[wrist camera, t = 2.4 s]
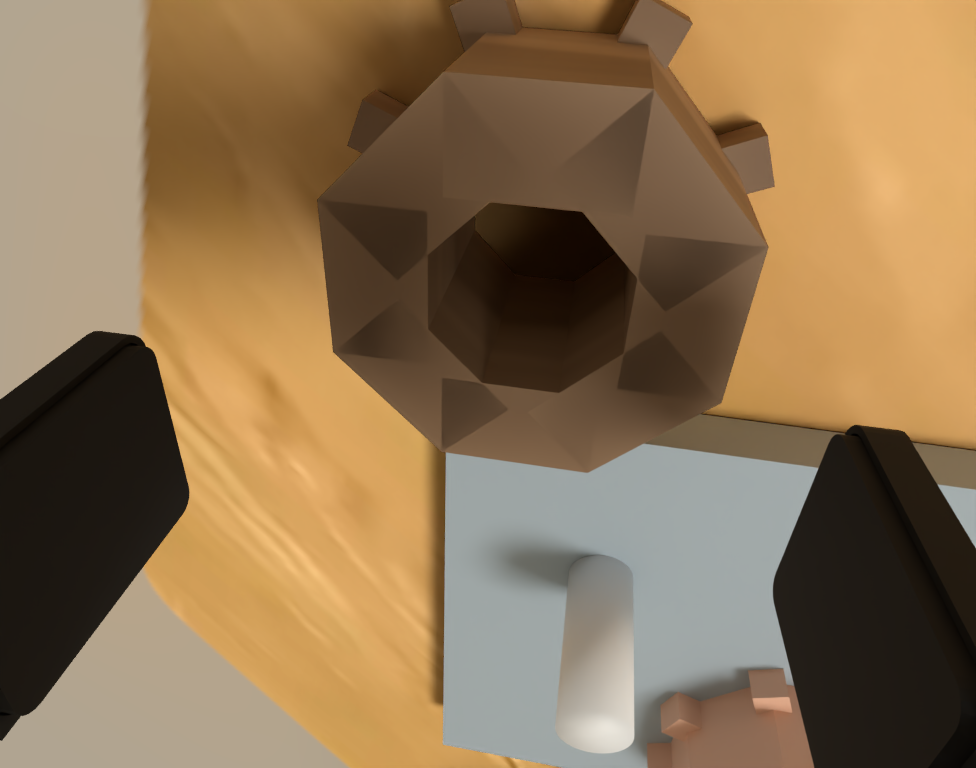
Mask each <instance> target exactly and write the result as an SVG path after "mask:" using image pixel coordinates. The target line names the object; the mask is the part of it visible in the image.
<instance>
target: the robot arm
mask: <svg viewBox="0 0 976 768" xmlns="http://www.w3.org/2000/svg"><path fill="white" fill-rule="evenodd" d="M188 500H189V486H188V483H187V479H186V475H185V471H184V467H183V463H182V459H181V455H180V451H179V447H178V443H177V439H176V435H175V431H174V427H173V423H172V419H171V415H170V411H169V407H168V403H167V399H166V395H165V391H164V387H163V383H162V379H161V375H160V371H159V367H158V363H157V359H156V356H155V354H154V352H153V351H152V350H151V349H150V348H148V347H146V346H145V343H144V342H143V341H142V340H141V338H139V337H137V336H135V335H126V334H119V333H110V332H103V331H94V332H92V333H90V334H88V335H86V336H85V337H84V338H82V339H81V340H80V341H78V342H77V343H75V344H74V345H73V346H71V347H70V348H69V349H67V350H66V351H65V352H63V353H62V354H61V355H59V356H58V357H57V358H55V359H54V360H53V361H51V362H50V363H49V364H47V365H46V366H45V367H43V368H42V369H41V370H39V371H38V372H37V373H35V374H34V375H33V376H31V377H30V378H29V379H28V380H26V381H24V382H23V383H22V384H21V385H19V386H18V387H17V388H15V389H14V390H13V391H11V392H10V393H9V394H7V395H6V396H5V397H3V398H2V399H0V740H1V741H2V740H3V738H4V737H5V736H6V735H7V733H8V732H9V731H10V729H11V728H12V727H13V726H14V724H15V723H16V722H17V720H18V719H19V718H20V716H24V715H27V714H29V713H30V712H32V711H33V710H34V709H36V707H37V706H38V705H39V704H40V703H41V702H42V701H43V699H44V698H45V697H46V695H47V694H48V692H49V691H50V690H51V689H52V687H53V686H54V685H55V683H56V682H57V681H58V679H59V678H60V677H61V675H62V674H63V673H64V671H65V670H66V669H67V667H68V666H69V665H70V663H71V662H72V661H73V659H74V658H75V657H76V655H77V654H78V653H79V651H80V650H81V649H82V647H83V646H84V645H85V643H86V642H87V641H88V639H89V638H90V637H91V635H92V634H93V633H94V631H95V630H96V629H97V627H98V626H99V625H100V623H101V622H102V621H103V619H104V618H105V617H106V615H107V614H108V613H109V611H110V610H111V609H112V608H113V606H114V605H115V604H116V602H117V601H118V599H119V598H120V597H121V596H122V594H123V593H124V592H125V590H126V589H127V588H128V586H129V585H130V584H131V582H132V581H133V580H134V578H135V577H136V576H137V574H138V573H139V572H140V570H141V569H142V568H143V566H144V565H145V564H146V562H147V561H148V560H149V558H150V557H151V556H152V554H153V553H154V552H155V550H156V549H157V548H158V546H159V545H160V544H161V542H162V541H163V540H164V538H165V537H166V536H167V534H168V533H169V532H170V530H171V529H172V528H173V526H174V525H175V524H176V522H177V521H178V520H179V518H180V517H181V516H182V514H183V513H184V511H185V509H186V507H187V504H188ZM773 601H774V606H775V610H776V614H777V618H778V622H779V626H780V630H781V634H782V638H783V642H784V646H785V650H786V654H787V659H788V663H789V667H790V671H791V675H792V679H793V683H794V687H795V691H796V695H797V699H798V703H799V707H800V711H801V715H802V720H803V724H804V728H805V732H806V736H807V740H808V744H809V748H810V752H811V756H812V760H813V764H814V768H976V548H975V546H974V544H973V543H972V541H971V539H970V538H969V536H968V534H967V533H966V531H965V529H964V528H963V526H962V524H961V523H960V521H959V520H958V518H957V516H956V515H955V513H954V511H953V510H952V508H951V506H950V505H949V503H948V501H947V500H946V498H945V496H944V495H943V493H942V491H941V490H940V488H939V486H938V485H937V483H936V481H935V480H934V478H933V476H932V475H931V473H930V471H929V470H928V468H927V466H926V465H925V463H924V461H923V460H922V458H921V456H920V455H919V453H918V451H917V450H916V448H915V447H914V445H913V443H912V442H911V440H910V438H909V437H908V436H907V434H906V433H905V432H903V431H900V430H892V429H884V428H876V427H868V426H860V425H854V426H852V427H850V428H849V429H848V430H847V432H846V434H845V435H842V434H836V435H834V436H833V437H832V438H831V440H830V442H829V444H828V446H827V449H826V451H825V454H824V456H823V458H822V461H821V463H820V466H819V468H818V471H817V473H816V476H815V478H814V480H813V483H812V485H811V488H810V490H809V493H808V495H807V498H806V500H805V503H804V505H803V507H802V510H801V512H800V515H799V517H798V520H797V522H796V525H795V527H794V530H793V532H792V534H791V537H790V539H789V542H788V544H787V547H786V549H785V552H784V554H783V557H782V559H781V561H780V564H779V566H778V569H777V571H776V574H775V577H774V582H773Z"/></svg>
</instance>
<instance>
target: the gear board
mask: <svg viewBox="0 0 976 768" xmlns="http://www.w3.org/2000/svg"><path fill="white" fill-rule="evenodd" d="M836 434H842V435H845V434H846V433H838V432H831V431H823V430H816V429H808V428H801V427H793V426H786V425H778V424H771V423H763V422H755V421H748V420H740V419H733V418H725V417H718V416H710V415H703V414H699V415H697V416H695V417H693V418H692V419H690V420H688V421H686V422H684V423H682V424H680V425H678V426H676V427H674V428H673V429H671V430H669V431H667V432H665V433H663V434H661V435H659V436H657V437H655V438H653V439H652V440H650V441H648V442H646V443H644V444H642V445H640V446H638V447H636V448H634V449H633V450H631V451H629V452H627V453H625V454H623V455H621V456H619V457H617V458H615V459H613V460H612V461H610V462H608V463H606V464H604V465H602V466H600V467H598V468H596V469H594V470H593V471H591V472H589V473H584V472H577V471H570V470H563V469H556V468H549V467H542V466H536V465H529V464H522V463H515V462H508V461H501V460H494V459H487V458H480V457H474V456H467V455H460V454H453V453H446V492H445V594H444V696H443V745H448V746H453V747H458V748H464V749H469V750H474V751H479V752H484V753H490V754H495V755H500V756H505V757H510V758H515V759H521V760H526V761H531V762H536V763H541V764H546V765H552V766H557V767H562V768H814V764H813V760H812V756H811V752H810V748H809V744H808V740H807V736H806V732H805V728H804V724H803V720H802V715H801V711H800V707H799V703H798V699H797V695H796V691H795V687H794V683H793V679H792V675H791V671H790V667H789V663H788V659H787V654H786V650H785V646H784V642H783V638H782V634H781V630H780V626H779V622H778V618H777V614H776V610H775V606H774V601H773V582H774V577H775V574H776V571H777V569H778V566H779V564H780V561H781V559H782V557H783V554H784V552H785V549H786V547H787V544H788V542H789V539H790V537H791V534H792V532H793V530H794V527H795V525H796V522H797V520H798V517H799V515H800V512H801V510H802V507H803V505H804V503H805V500H806V498H807V495H808V493H809V490H810V488H811V485H812V483H813V480H814V478H815V476H816V473H817V471H818V468H819V466H820V463H821V461H822V458H823V456H824V454H825V451H826V449H827V446H828V444H829V442H830V440H831V438H832V437H833V436H834V435H836ZM912 443H913V442H912ZM913 445H914V447H915V448H916V450H917V451H918V453H919V455H920V456H921V458H922V460H923V461H924V463H925V465H926V466H927V468H928V470H929V471H930V473H931V475H932V476H933V478H934V480H935V481H936V483H937V485H938V486H939V488H940V490H941V491H942V493H943V495H944V496H945V498H946V500H947V501H948V503H949V505H950V506H951V508H952V510H953V511H954V513H955V515H956V516H957V518H958V520H959V521H960V523H961V524H962V526H963V528H964V529H965V531H966V533H967V534H968V536H969V538H970V539H971V541H972V543H973V544H974V546H975V548H976V451H973V450H966V449H958V448H951V447H943V446H936V445H928V444H921V443H913Z"/></svg>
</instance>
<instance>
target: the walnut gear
mask: <svg viewBox="0 0 976 768" xmlns="http://www.w3.org/2000/svg"><path fill="white" fill-rule="evenodd" d="M449 7H450V10H451V13H452V16H453V19H454V22H455V25H456V28H457V30H458V33H459V36H460V39H461V42H462V45H463V48H464V51H465V52H464V53H463V54H462V55H461V56H460V57H459V58H458V59H457V60H456V61H455V62H453V63H452V64H451V65H450V66H449V67H448V68H447V69H446V70H445V71H444V72H443V73H442V74H441V75H440V76H439V77H438V78H437V79H436V80H435V81H434V82H433V83H432V84H431V85H430V86H429V87H428V88H427V89H426V90H425V91H424V92H423V93H422V94H421V95H420V96H419V97H418V98H417V99H416V100H415V101H414V102H413V103H412V104H411V105H410V106H409V107H408V106H406V105H404V104H402V103H400V102H398V101H397V100H395V99H393V98H391V97H389V96H387V95H385V94H383V93H381V92H380V91H378V90H375V91H374V92H372V93H371V94H370V95H368V96H367V97H366V98H364V99H363V100H362V103H361V106H360V109H359V112H358V115H357V118H356V121H355V124H354V127H353V130H352V133H351V136H350V139H349V142H348V145H347V146H349V147H351V148H353V149H355V150H357V151H359V152H361V153H363V154H362V155H361V156H360V157H359V158H358V159H357V160H356V161H355V162H354V163H353V164H352V165H351V166H350V167H349V168H348V169H347V170H346V171H345V172H344V173H343V174H342V175H341V176H340V177H339V178H338V179H337V180H336V181H335V182H334V183H333V184H332V185H331V186H330V187H329V188H328V189H327V190H326V191H325V192H324V193H323V194H322V195H321V196H320V197H319V198H318V199H317V202H318V212H319V221H320V231H321V240H322V250H323V259H324V269H325V278H326V288H327V297H328V307H329V317H330V326H331V336H332V345H333V352H334V353H335V354H336V355H337V356H338V357H339V358H340V359H341V360H342V361H343V362H345V363H346V364H347V365H348V366H349V367H350V368H351V369H352V370H353V371H354V372H355V373H357V374H358V375H359V376H360V377H361V378H362V379H363V380H364V381H365V382H366V383H367V384H368V385H370V386H371V387H372V388H373V389H374V390H375V391H376V392H377V393H378V394H379V395H380V396H381V397H383V398H384V399H385V400H386V401H387V402H388V403H389V404H390V405H391V406H392V407H393V408H394V409H396V410H397V411H398V412H399V413H400V414H401V415H402V416H403V417H404V418H405V419H406V420H408V421H409V422H410V423H411V424H412V425H413V426H414V427H415V428H416V429H417V430H418V431H419V432H421V433H422V434H423V435H424V436H425V437H426V438H427V439H428V440H429V441H430V442H431V443H432V444H434V445H435V446H436V447H437V448H438V449H439V450H440V451H441V452H446V453H453V454H460V455H467V456H474V457H480V458H487V459H494V460H501V461H508V462H515V463H522V464H529V465H536V466H542V467H549V468H556V469H563V470H570V471H577V472H584V473H589V472H591V471H593V470H594V469H596V468H598V467H600V466H602V465H604V464H606V463H608V462H610V461H612V460H613V459H615V458H617V457H619V456H621V455H623V454H625V453H627V452H629V451H631V450H633V449H634V448H636V447H638V446H640V445H642V444H644V443H646V442H648V441H650V440H652V439H653V438H655V437H657V436H659V435H661V434H663V433H665V432H667V431H669V430H671V429H673V428H674V427H676V426H678V425H680V424H682V423H684V422H686V421H688V420H690V419H692V418H693V417H695V416H697V415H699V414H701V413H703V412H705V411H707V410H709V409H711V408H712V407H714V406H716V405H718V404H720V403H721V402H722V399H723V396H724V393H725V389H726V386H727V383H728V379H729V376H730V373H731V369H732V366H733V363H734V359H735V356H736V353H737V350H738V346H739V343H740V340H741V336H742V333H743V330H744V326H745V323H746V320H747V316H748V313H749V310H750V306H751V303H752V300H753V297H754V293H755V290H756V287H757V283H758V280H759V277H760V273H761V270H762V267H763V263H764V260H765V257H766V254H767V250H768V245H767V243H766V240H765V238H764V235H763V233H762V230H761V228H760V225H759V223H758V221H757V218H756V216H755V213H754V211H753V208H752V206H751V203H750V201H749V198H748V196H747V194H749V193H752V192H756V191H760V190H764V189H767V188H771V187H775V185H774V178H773V171H772V164H771V156H770V149H769V142H768V135H767V134H766V132H765V130H764V129H763V127H762V125H761V124H760V123H758V124H754V125H751V126H748V127H744V128H741V129H737V130H734V131H731V132H727V133H724V134H721V135H717V136H716V134H715V133H714V131H713V130H712V128H711V127H710V126H709V124H708V123H707V121H706V120H705V119H704V117H703V116H702V114H701V113H700V111H699V110H698V109H697V107H696V106H695V104H694V103H693V101H692V100H691V99H690V97H689V96H688V94H687V93H686V92H685V90H684V89H683V87H682V86H681V84H680V83H679V82H678V80H677V79H676V77H675V76H674V74H673V73H672V72H671V70H670V69H669V67H668V65H669V63H670V61H671V60H672V58H673V56H674V55H675V53H676V51H677V49H678V48H679V46H680V44H681V43H682V41H683V39H684V38H685V36H686V34H687V32H688V31H689V29H690V27H691V26H692V22H691V20H690V18H689V17H688V16H686V15H685V14H683V13H681V12H680V11H678V10H676V9H674V8H673V7H671V6H669V5H667V4H666V3H664V2H662V1H661V0H636V1H635V3H634V5H633V7H632V8H631V10H630V12H629V14H628V16H627V18H626V20H625V22H624V24H623V26H622V27H621V29H620V31H619V33H618V34H605V33H592V32H578V31H565V30H551V29H538V28H524V27H522V25H521V21H520V18H519V14H518V11H517V8H516V4H515V1H514V0H460V1H458V2H456V3H454V4H453V5H451V6H449ZM490 202H493V203H502V204H512V205H522V206H532V207H541V208H551V209H561V210H570V211H580V212H583V213H584V215H585V216H586V217H587V218H588V219H589V221H590V222H591V223H592V224H593V225H594V227H595V228H596V229H597V230H598V231H599V233H600V234H601V235H602V236H603V238H604V239H605V240H606V241H607V242H608V244H609V245H610V246H611V247H612V248H613V250H614V251H615V252H616V253H615V254H613V255H612V256H610V257H609V258H608V259H606V260H605V261H603V262H602V263H600V264H599V265H598V266H596V267H595V268H593V269H592V270H590V271H589V272H588V273H586V274H585V275H583V276H582V277H581V278H579V279H578V280H576V281H575V282H574V281H565V280H557V279H548V278H539V277H530V276H522V275H515V274H514V273H513V272H512V271H511V270H510V269H509V268H508V266H507V265H506V264H505V263H504V262H503V261H502V260H501V259H500V258H499V257H498V255H497V254H496V253H495V252H494V251H493V250H492V249H491V248H490V247H489V245H488V244H487V243H486V242H485V241H484V240H483V239H482V238H481V237H480V236H479V234H478V233H477V232H476V231H475V215H476V214H477V213H478V212H479V211H481V210H482V209H483V208H484V207H485V206H487V205H488V204H489V203H490Z"/></svg>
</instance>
